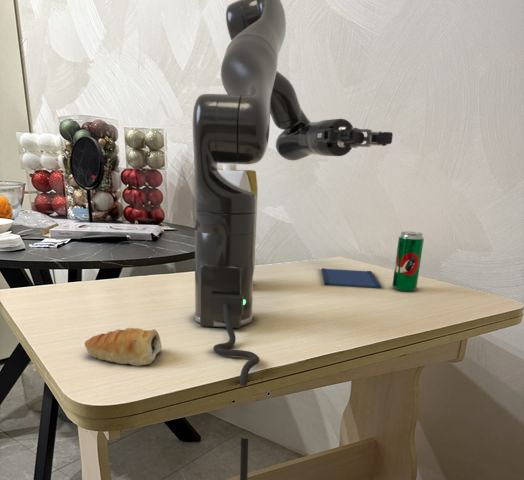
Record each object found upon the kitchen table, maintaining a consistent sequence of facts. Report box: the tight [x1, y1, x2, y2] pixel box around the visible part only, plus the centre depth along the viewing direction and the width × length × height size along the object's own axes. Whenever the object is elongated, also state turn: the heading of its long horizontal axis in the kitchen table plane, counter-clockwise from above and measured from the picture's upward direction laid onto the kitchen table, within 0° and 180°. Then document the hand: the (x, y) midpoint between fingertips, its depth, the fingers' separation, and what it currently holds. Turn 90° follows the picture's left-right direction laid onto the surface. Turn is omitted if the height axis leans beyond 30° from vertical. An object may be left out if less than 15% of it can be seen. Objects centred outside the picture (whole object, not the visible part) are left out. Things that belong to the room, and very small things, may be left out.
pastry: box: [84, 327, 162, 367], centre depth 67 cm, size 9×7×4 cm
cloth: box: [321, 267, 382, 289], centre depth 119 cm, size 16×12×1 cm
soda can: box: [391, 230, 425, 293], centre depth 110 cm, size 5×5×12 cm
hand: (373, 136), depth 102 cm, fingers open, 8 cm apart
